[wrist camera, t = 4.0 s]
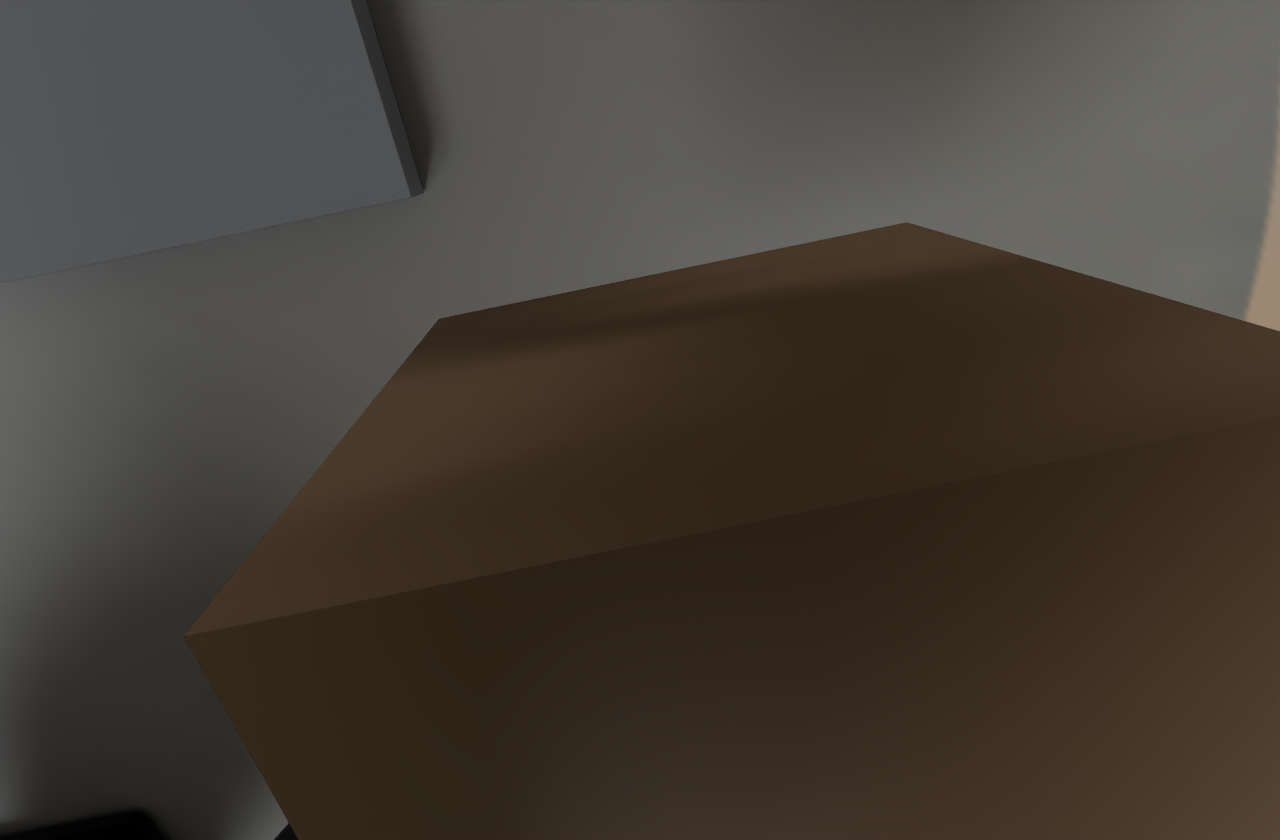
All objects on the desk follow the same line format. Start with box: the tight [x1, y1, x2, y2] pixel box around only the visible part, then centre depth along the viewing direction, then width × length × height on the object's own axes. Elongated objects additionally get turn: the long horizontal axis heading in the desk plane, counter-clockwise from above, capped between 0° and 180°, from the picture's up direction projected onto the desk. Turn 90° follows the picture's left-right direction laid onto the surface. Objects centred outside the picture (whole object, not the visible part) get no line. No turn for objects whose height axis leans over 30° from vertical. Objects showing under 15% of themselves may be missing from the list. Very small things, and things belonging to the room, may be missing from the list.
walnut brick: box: [184, 223, 1280, 840], centre depth 6 cm, size 5×7×5 cm
